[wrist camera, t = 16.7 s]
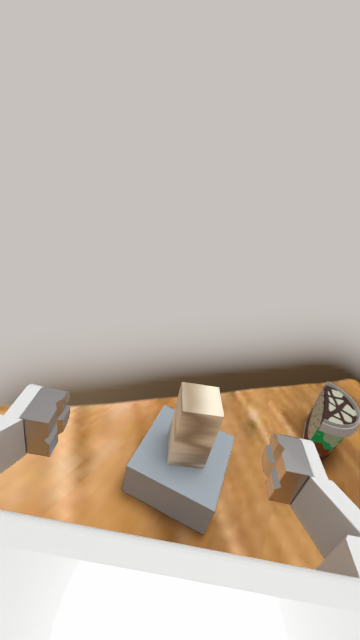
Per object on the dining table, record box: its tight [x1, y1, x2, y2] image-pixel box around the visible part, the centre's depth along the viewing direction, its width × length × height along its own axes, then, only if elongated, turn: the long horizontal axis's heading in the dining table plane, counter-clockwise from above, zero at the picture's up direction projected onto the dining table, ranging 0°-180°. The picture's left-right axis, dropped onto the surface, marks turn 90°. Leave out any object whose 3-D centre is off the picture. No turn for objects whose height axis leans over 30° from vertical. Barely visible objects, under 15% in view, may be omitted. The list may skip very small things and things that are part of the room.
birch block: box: [167, 382, 224, 469], centre depth 38 cm, size 5×5×10 cm
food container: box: [302, 382, 360, 459], centre depth 52 cm, size 12×6×10 cm, turn 152°
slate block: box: [122, 405, 234, 535], centre depth 42 cm, size 12×12×6 cm
